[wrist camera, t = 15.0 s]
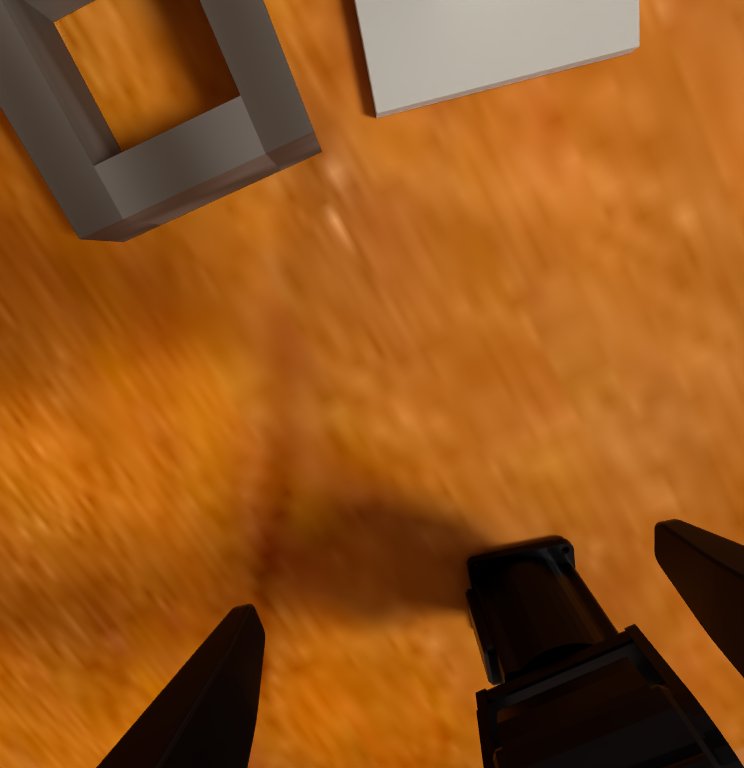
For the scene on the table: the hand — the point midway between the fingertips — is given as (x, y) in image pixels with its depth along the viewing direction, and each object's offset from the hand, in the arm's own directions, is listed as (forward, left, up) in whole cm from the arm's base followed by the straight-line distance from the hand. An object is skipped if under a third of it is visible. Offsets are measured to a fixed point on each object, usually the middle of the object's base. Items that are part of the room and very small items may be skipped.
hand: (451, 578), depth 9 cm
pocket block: (+7, -16, -13) cm, 22 cm away
